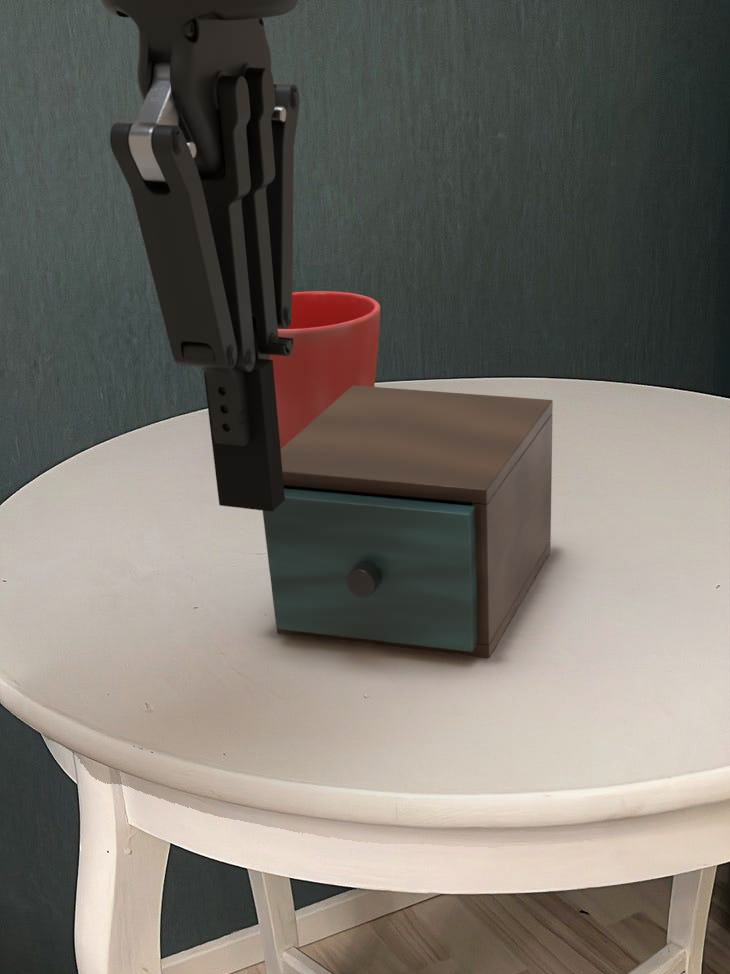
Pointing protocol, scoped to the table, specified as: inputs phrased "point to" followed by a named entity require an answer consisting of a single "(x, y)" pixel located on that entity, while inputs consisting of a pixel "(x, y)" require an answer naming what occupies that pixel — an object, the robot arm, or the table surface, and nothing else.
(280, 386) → the flower pot
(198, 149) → the robot arm
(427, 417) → the cabinet
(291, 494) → the drawer
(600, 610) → the table surface
